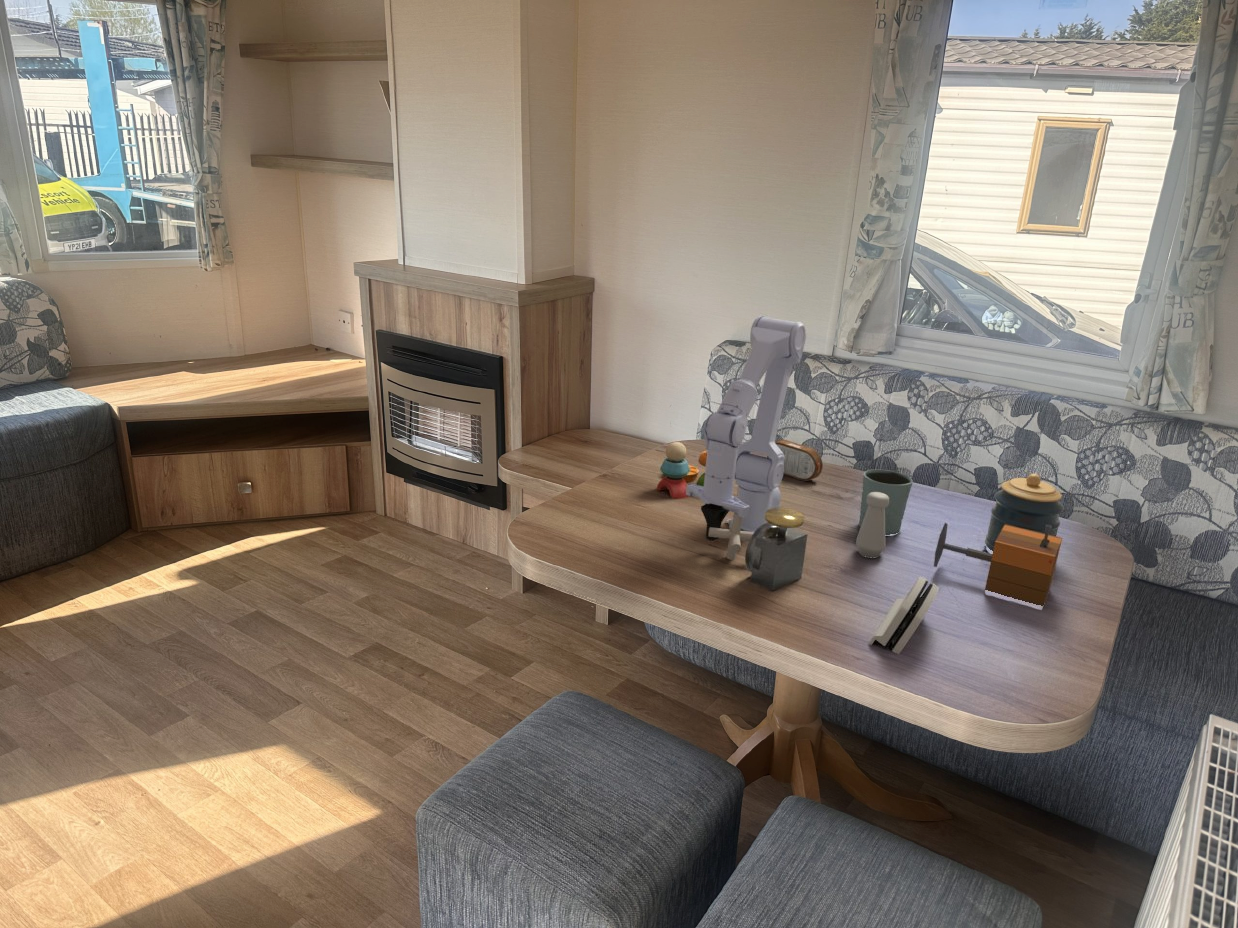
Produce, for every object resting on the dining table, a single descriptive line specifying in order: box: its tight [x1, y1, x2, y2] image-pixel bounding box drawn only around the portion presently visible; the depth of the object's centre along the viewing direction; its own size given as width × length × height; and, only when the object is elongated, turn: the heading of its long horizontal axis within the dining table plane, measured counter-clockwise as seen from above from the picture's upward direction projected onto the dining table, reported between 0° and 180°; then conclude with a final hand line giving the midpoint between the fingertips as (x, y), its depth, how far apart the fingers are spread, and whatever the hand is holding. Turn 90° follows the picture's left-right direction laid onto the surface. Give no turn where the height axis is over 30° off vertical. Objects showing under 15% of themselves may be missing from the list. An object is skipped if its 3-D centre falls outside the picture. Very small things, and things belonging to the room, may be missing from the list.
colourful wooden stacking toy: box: [656, 441, 707, 500], centre depth 207 cm, size 18×17×12 cm
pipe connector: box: [709, 512, 754, 561], centre depth 170 cm, size 10×10×10 cm
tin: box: [766, 439, 824, 482], centre depth 219 cm, size 15×3×8 cm, turn 46°
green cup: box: [858, 469, 913, 535], centre depth 189 cm, size 10×10×12 cm
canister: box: [984, 473, 1065, 551], centre depth 179 cm, size 13×13×18 cm
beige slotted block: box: [868, 576, 940, 655], centre depth 147 cm, size 17×5×10 cm, turn 150°
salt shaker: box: [855, 492, 889, 559], centre depth 176 cm, size 6×6×13 cm
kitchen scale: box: [744, 507, 808, 592], centre depth 162 cm, size 10×8×13 cm
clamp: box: [933, 522, 1063, 606], centre depth 165 cm, size 11×20×14 cm, turn 58°
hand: (712, 538), depth 174 cm, fingers closed, pressing on pipe connector
